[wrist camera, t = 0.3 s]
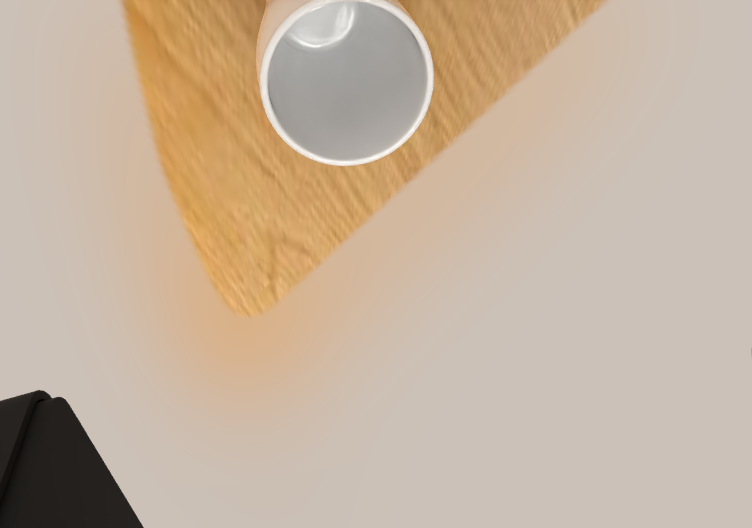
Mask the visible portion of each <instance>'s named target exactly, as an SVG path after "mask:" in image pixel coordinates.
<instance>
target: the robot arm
mask: <svg viewBox="0 0 752 528" xmlns="http://www.w3.org/2000/svg"><path fill="white" fill-rule="evenodd" d="M0 528H143V526H142V524H141V523H140V521H139V519H138V518H137V516H136V514H135V513H134V511H133V509H132V508H131V506H130V504H129V503H128V501H127V499H126V498H125V496H124V494H123V493H122V491H121V489H120V488H119V486H118V484H117V483H116V481H115V480H114V478H113V476H112V475H111V473H110V471H109V470H108V468H107V466H106V465H105V463H104V461H103V460H102V458H101V456H100V455H99V453H98V452H97V450H96V448H95V446H94V445H93V443H92V442H91V440H90V439H89V437H88V435H87V433H86V432H85V430H84V428H83V427H82V425H81V423H80V422H79V420H78V418H77V417H76V415H75V413H74V412H73V410H72V409H71V407H70V405H69V404H68V403H67V401H66V400H65V399H64V398H62V397H56V398H51V396H50V395H49V394H48V393H46V392H45V391H40V390H38V391H35V392H31V393H27V394H24V395H20V396H17V397H13V398H9V399H6V400H2V401H0Z"/></svg>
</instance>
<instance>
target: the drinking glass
mask: <svg viewBox="0 0 752 528" xmlns="http://www.w3.org/2000/svg"><path fill="white" fill-rule="evenodd" d="M256 69H257V79H258V84H259V90H260V94H261V99H262V103H263V106H264V110H265V112H266V115H267V117H268V119H269V121H270V123H271V125H272V126H273V128H274V129H275V131H276V132H277V133H278V134H279V136H280V137H281V138H282V139H283V140H284V141H285V142H286V143H287V144H288V145H289V146H290V147H292V148H293V149H294V150H296V151H297V152H299V153H300V154H302V155H304V156H306V157H307V158H310V159H312V160H315V161H318V162H321V163H325V164H329V165H337V166H352V165H360V164H364V163H368V162H372V161H375V160H377V159H380V158H382V157H384V156H386V155H388V154H389V153H391V152H393V151H394V150H396V149H397V148H399V147H400V146H401V145H402V144H403V143H405V142H406V141H407V140H408V139H409V138H410V137H411V135H412V134H413V133H414V132H415V131H416V129H417V128H418V126H419V125H420V123H421V122H422V120H423V118H424V116H425V114H426V112H427V110H428V107H429V104H430V101H431V97H432V92H433V85H434V69H433V62H432V57H431V53H430V50H429V47H428V44H427V42H426V40H425V38H424V36H423V34H422V33H421V31H420V29H419V28H418V27H417V25H416V23H415V22H414V20H413V19H412V17H411V16H410V15H409V13H408V12H407V11H406V9H405V8H404V7H403V6H402V4H401V3H400V2H399V1H398V0H266V7H265V11H264V14H263V17H262V21H261V24H260V28H259V33H258V38H257V46H256Z"/></svg>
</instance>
